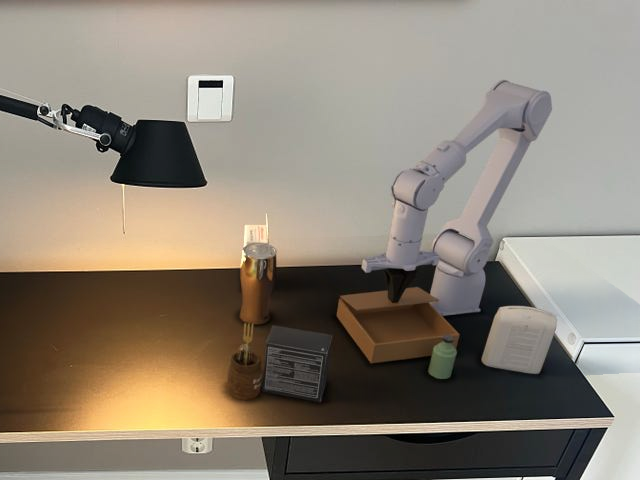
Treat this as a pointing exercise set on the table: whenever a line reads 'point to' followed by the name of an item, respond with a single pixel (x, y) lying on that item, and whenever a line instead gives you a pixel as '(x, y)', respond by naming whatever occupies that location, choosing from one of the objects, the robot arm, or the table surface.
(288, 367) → the small box
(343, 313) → the carton
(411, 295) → the flap
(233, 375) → the utensil holder
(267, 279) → the beer glass
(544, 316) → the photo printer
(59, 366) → the table surface
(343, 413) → the table surface
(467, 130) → the robot arm
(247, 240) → the ink cartridge box
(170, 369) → the table surface
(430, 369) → the bottle
